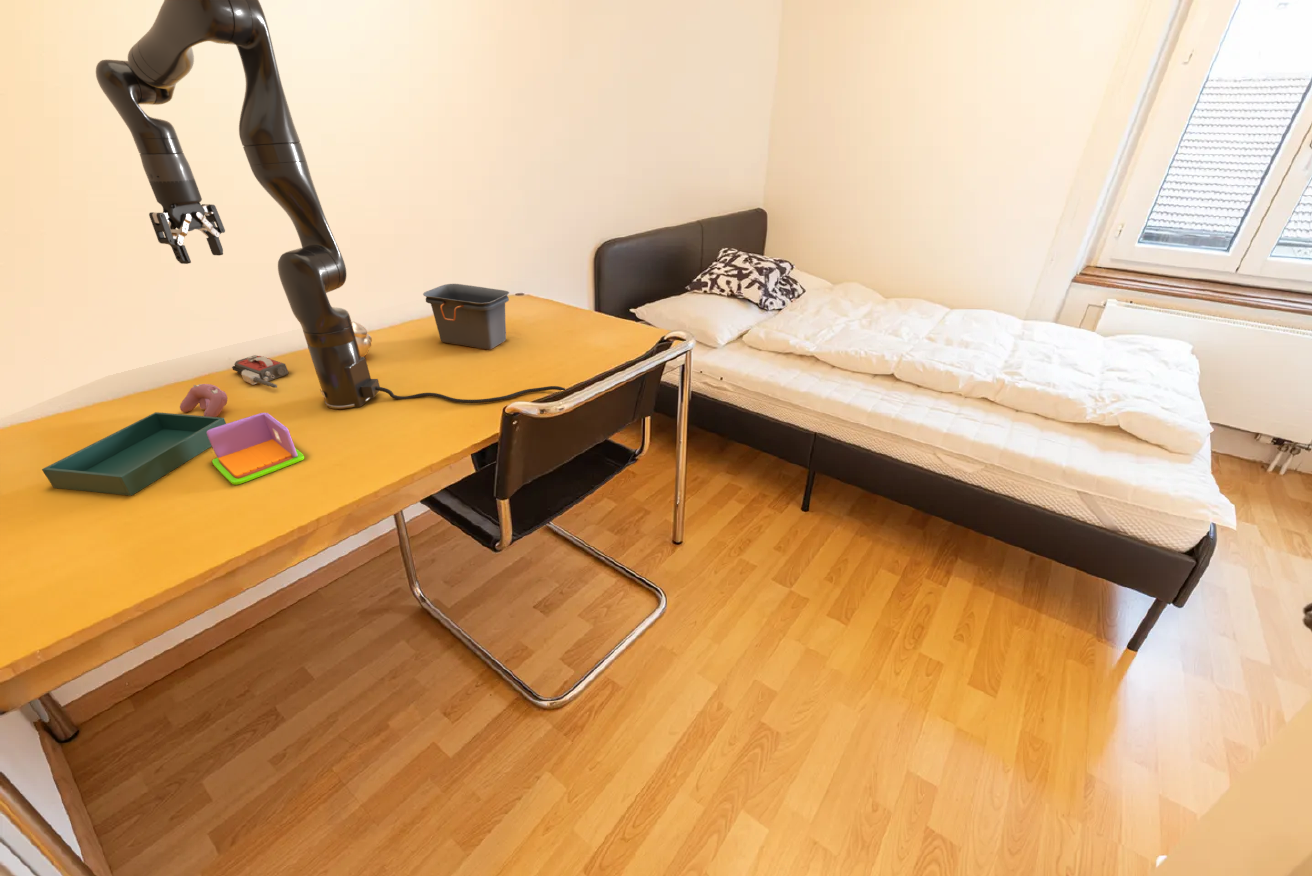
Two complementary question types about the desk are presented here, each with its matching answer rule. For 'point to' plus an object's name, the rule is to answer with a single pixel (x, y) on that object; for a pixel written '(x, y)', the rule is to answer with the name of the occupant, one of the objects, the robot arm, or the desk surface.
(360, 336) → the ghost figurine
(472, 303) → the storage bin
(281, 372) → the walkie-talkie
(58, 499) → the desk surface
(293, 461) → the dollhouse room
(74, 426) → the desk surface
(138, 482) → the tray
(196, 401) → the video game controller
